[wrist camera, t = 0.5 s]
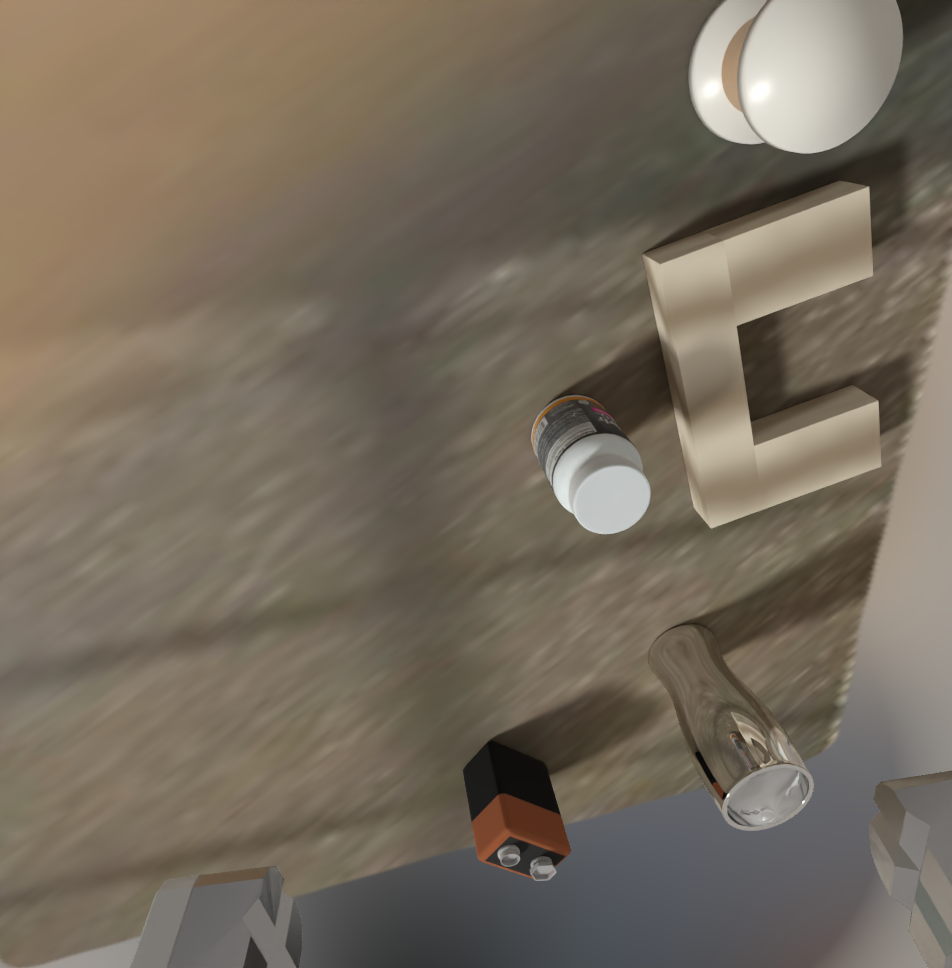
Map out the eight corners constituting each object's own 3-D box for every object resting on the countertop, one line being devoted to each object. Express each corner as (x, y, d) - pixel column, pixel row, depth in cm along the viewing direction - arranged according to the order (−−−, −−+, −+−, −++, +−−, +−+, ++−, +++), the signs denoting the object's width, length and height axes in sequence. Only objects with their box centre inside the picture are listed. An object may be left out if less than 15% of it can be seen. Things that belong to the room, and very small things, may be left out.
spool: (677, 11, 40) (736, 0, 34) (816, -42, 40) (901, -63, 34) (700, 162, 44) (756, 176, 38) (827, 115, 44) (904, 121, 38)
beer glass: (626, 665, 63) (699, 817, 50) (679, 607, 61) (770, 751, 48) (683, 692, 66) (767, 843, 53) (736, 637, 64) (837, 781, 51)
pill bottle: (623, 431, 52) (678, 501, 44) (559, 481, 53) (601, 559, 45) (578, 375, 50) (627, 437, 41) (512, 429, 51) (546, 500, 42)
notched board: (642, 253, 46) (660, 264, 44) (839, 180, 46) (869, 186, 43) (693, 507, 56) (710, 528, 54) (856, 448, 56) (881, 466, 53)
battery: (518, 791, 69) (543, 894, 60) (459, 768, 66) (477, 873, 57) (547, 762, 68) (577, 862, 59) (489, 737, 65) (511, 839, 56)
